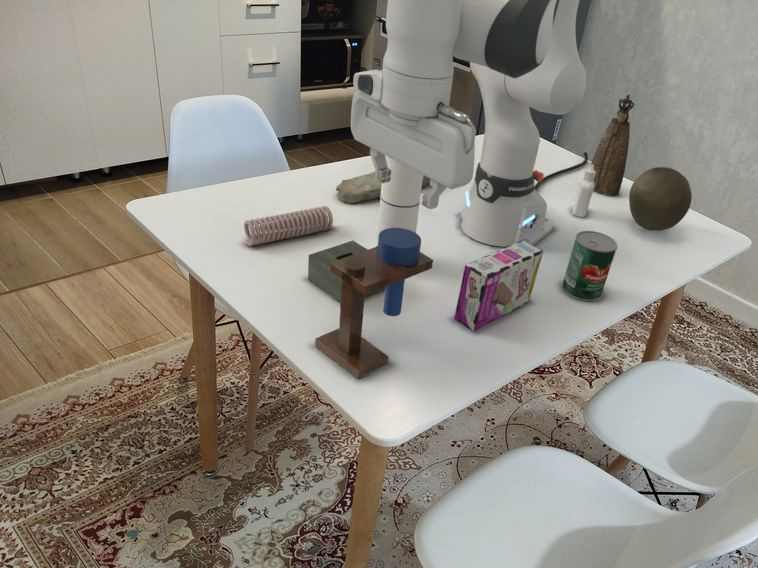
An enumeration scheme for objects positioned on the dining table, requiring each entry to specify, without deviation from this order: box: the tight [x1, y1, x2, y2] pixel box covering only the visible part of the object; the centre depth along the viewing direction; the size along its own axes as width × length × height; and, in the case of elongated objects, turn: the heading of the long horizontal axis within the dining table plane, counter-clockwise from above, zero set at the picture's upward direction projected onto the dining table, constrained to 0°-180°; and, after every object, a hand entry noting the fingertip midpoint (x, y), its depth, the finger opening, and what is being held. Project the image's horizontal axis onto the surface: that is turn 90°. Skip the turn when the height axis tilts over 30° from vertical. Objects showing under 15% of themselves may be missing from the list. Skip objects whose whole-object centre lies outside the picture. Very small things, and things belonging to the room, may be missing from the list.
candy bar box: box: [454, 240, 544, 332], centre depth 114 cm, size 11×5×16 cm
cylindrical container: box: [375, 155, 423, 247], centre depth 119 cm, size 7×7×25 cm
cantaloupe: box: [628, 166, 693, 232], centre depth 152 cm, size 14×14×15 cm
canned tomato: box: [561, 230, 618, 302], centre depth 125 cm, size 8×8×11 cm
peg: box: [377, 228, 422, 317], centre depth 99 cm, size 6×6×13 cm
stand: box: [314, 246, 434, 380], centre depth 99 cm, size 15×10×16 cm
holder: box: [307, 240, 385, 303], centre depth 115 cm, size 10×10×5 cm
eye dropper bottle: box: [572, 164, 596, 218], centre depth 155 cm, size 4×6×12 cm
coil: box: [243, 205, 334, 247], centre depth 126 cm, size 5×5×18 cm
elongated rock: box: [335, 171, 430, 204], centre depth 153 cm, size 35×5×10 cm
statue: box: [589, 94, 635, 197], centre depth 166 cm, size 9×8×25 cm
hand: (405, 193), depth 92 cm, fingers open, 8 cm apart
